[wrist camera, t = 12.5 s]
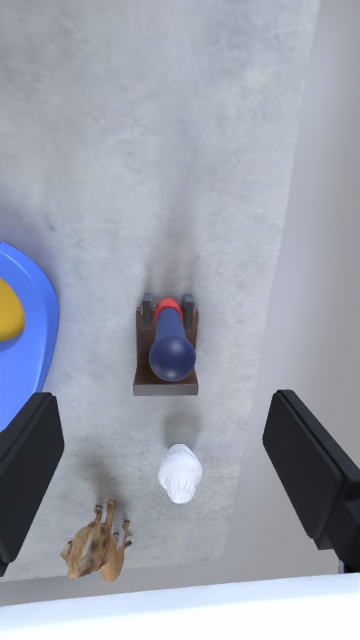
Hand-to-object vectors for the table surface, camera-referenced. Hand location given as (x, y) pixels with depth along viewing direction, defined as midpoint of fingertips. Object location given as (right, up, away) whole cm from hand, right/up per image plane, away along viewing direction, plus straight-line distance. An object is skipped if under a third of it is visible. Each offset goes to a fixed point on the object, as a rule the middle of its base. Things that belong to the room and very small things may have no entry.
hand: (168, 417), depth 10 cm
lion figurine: (-12, -29, +29) cm, 43 cm away
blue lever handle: (0, +5, +8) cm, 9 cm away
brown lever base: (-1, +2, +18) cm, 18 cm away
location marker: (-21, +1, +17) cm, 27 cm away
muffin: (0, -16, +25) cm, 29 cm away
